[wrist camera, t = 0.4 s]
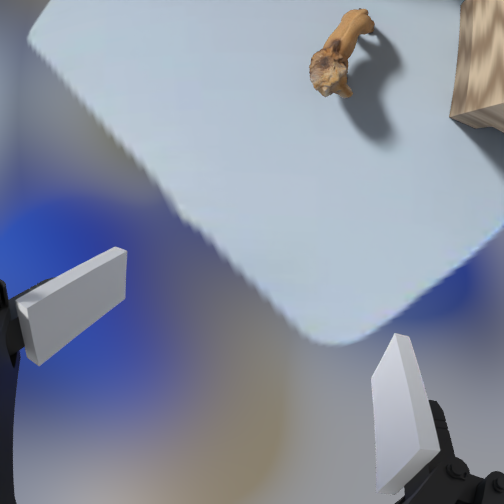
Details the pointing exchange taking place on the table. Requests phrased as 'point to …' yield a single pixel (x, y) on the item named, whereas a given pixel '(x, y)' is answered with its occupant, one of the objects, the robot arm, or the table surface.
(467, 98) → the cabinet
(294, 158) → the table surface
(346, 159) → the table surface
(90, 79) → the table surface
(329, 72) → the lion figurine
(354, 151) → the table surface
